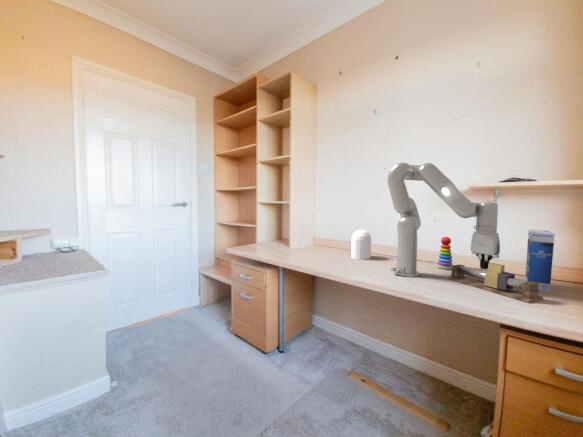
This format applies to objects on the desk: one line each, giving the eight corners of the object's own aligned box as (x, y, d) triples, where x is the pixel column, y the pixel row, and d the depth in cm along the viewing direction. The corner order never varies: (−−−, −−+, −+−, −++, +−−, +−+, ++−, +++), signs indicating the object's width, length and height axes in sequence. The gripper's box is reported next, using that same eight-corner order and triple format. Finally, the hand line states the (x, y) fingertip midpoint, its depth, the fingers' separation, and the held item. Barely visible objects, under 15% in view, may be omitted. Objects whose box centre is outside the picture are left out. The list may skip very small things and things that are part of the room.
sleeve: (484, 284, 112) (485, 263, 111) (493, 283, 114) (494, 262, 114) (497, 288, 107) (498, 266, 107) (506, 286, 110) (507, 264, 109)
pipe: (454, 272, 126) (454, 265, 126) (459, 272, 128) (459, 264, 127) (528, 292, 98) (529, 283, 98) (534, 291, 100) (534, 282, 100)
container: (374, 257, 175) (374, 229, 174) (365, 260, 166) (365, 230, 164) (356, 254, 185) (357, 227, 183) (347, 257, 175) (347, 229, 174)
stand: (447, 278, 127) (447, 265, 126) (460, 276, 130) (460, 263, 130) (528, 303, 96) (529, 285, 96) (542, 299, 100) (543, 282, 99)
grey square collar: (497, 288, 107) (498, 273, 107) (505, 286, 110) (506, 272, 109) (505, 290, 105) (506, 275, 104) (514, 288, 107) (515, 274, 107)
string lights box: (524, 281, 123) (527, 229, 121) (546, 284, 118) (550, 230, 116) (527, 288, 113) (530, 231, 111) (551, 292, 108) (555, 233, 106)
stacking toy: (455, 270, 143) (457, 237, 141) (441, 270, 143) (443, 237, 142) (447, 266, 151) (448, 235, 149) (434, 266, 151) (435, 235, 149)
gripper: (464, 228, 119) (462, 265, 120) (499, 231, 105) (497, 273, 107) (474, 227, 122) (472, 264, 123) (510, 230, 108) (508, 271, 109)
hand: (484, 268), depth 115 cm, fingers closed
